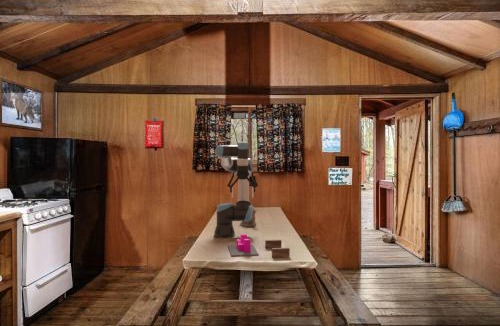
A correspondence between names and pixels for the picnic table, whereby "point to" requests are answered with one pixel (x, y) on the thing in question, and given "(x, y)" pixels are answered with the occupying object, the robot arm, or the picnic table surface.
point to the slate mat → (236, 252)
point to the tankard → (252, 221)
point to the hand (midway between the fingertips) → (242, 197)
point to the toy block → (244, 243)
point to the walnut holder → (277, 249)
